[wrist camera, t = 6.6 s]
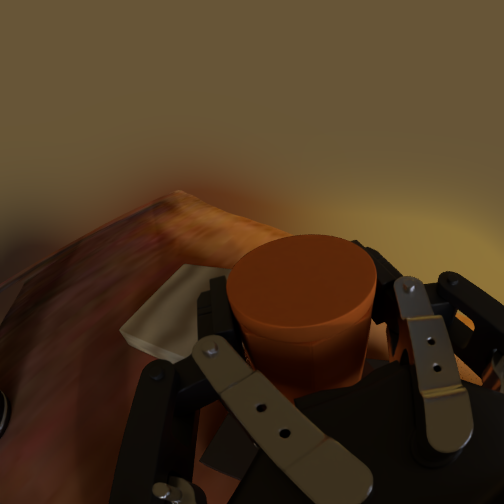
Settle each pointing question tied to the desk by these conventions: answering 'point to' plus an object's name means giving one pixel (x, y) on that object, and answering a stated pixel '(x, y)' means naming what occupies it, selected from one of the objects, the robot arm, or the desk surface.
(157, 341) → the grey stone tile
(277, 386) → the hat
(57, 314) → the desk surface
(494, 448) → the robot arm
